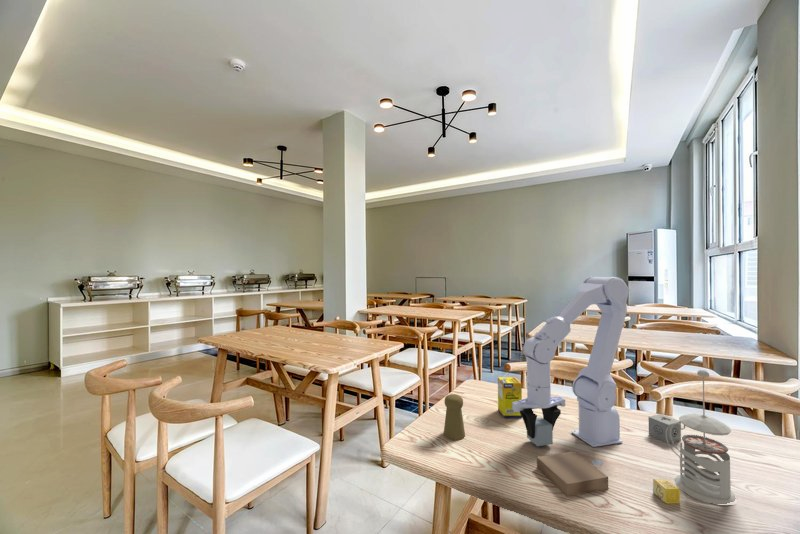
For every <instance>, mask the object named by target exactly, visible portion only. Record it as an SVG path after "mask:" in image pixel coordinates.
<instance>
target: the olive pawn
mask: <svg viewBox="0 0 800 534" xmlns="http://www.w3.org/2000/svg"><path fill="white" fill-rule="evenodd" d="M444 405H445V408H446V410H445V419H444V420H445V421H444V428H443V437H444V436H445V437H444V438H445V439H447V440H450V441H463V440H464V439H465V438H466V431H465V424H464V423H465V422H464V417H463V409H462V408H463V407H464V399H463V397H462V396H461V395H459V394H456V393H450V394H447V395H446V396H445V398H444ZM464 437H465V438H464Z"/></svg>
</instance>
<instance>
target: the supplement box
mask: <svg viewBox="0 0 800 534" xmlns="http://www.w3.org/2000/svg"><path fill="white" fill-rule="evenodd" d="M522 385H523V384H522V382H521V381H520V380H519V379H518V378H517V377H516V376H498V377H497V408H498V409H497V410H498V412H499V413H500V415H501V417H502V418H503V419H523V418H522V416H521V414H520V412H515V411H514V410H513V409H512V402H516V401H519V400H522V399H523V397H522V396H523V395H522V391H523V390H522V387H523V386H522Z"/></svg>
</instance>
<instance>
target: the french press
mask: <svg viewBox="0 0 800 534" xmlns="http://www.w3.org/2000/svg"><path fill="white" fill-rule="evenodd" d="M696 372H697V376H699V377H702V408H703V409H702V412H703V413H702V414H699V413H691V414H690V413H689V414H684V415H681V416H679V417H678V419H679V420H678V422H675V423H672V424H670V425H669V426H668V427H667V429H666V440H667V443H666V444H667V445H668V447H669V448H670V450H671V451H672V452H673V453H674V454H675V455H676V456H678V458H679V469H680V470H679V475H677V476H676V477H675V478H674V479H673V480H674V482H675V486H676V487H678V488H679V489H680V491H682V492H684V493H685V494H687V495H689V496H690V497H692V498H695V499H697V500H699V501H702V502H704V503H706V504H710V503H713V504H712V505H714V504H727V503H730V502H734V501H735V499H736V498H735V495H736V494H735V493H734V492H733V491H732V490H731V457H730V455H729V453H728V451H729V448H728V446H726V445H725V444H723V443H722V442H719V441H718V440H715V439H712V438H710V437H707V436H706V434H709V435H712V436H727V435H729V434H730V433H731V432H732V429H731V428H730V427H729V426H728V425H727V424H725V423H724V422H722V421H720V420H719V419H717V418H715V417H711V416H709V415H705V409H706V407H705V378H709V377H710V373H709V372H708V371H707V370H705V369H699V370H698V371H696ZM680 422H681V425H680ZM674 424H679V426H680V429H681V431H683V430H684V429H685V428H686V427H687V428H689V429H691V430H694V431H697V432H700V433H703V436H702V435H698V434H685V435H683V436H681V440H682V442H681V443H680V445H679V448H678V447H677V445H676V444H675V442H673V440H672V436H671V430H672V427H673V426H674ZM671 425H672V426H671ZM682 425H683V427H682ZM670 426H671V428H670V437H671V440H672V443H671V444H672V445H673V446H674V447H675V449H676V450H677V451H678V452H679V453H680V454H678V453H677V452H676V451H675V450H674V449H673V448H672V446H671V444H670V443H669V442H668V439H667V430H668V428H669V427H670ZM698 455H708V456H709V457H708V456H707V457H705V456H698ZM710 457H711V458H710ZM712 458H714V459H715V460H714V459H712ZM720 458H721V459H722V460H721V459H720ZM699 466H700V467H702V468H700V467H699ZM683 468H684V469H683ZM733 493H734V494H735V495H734V494H733Z"/></svg>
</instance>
